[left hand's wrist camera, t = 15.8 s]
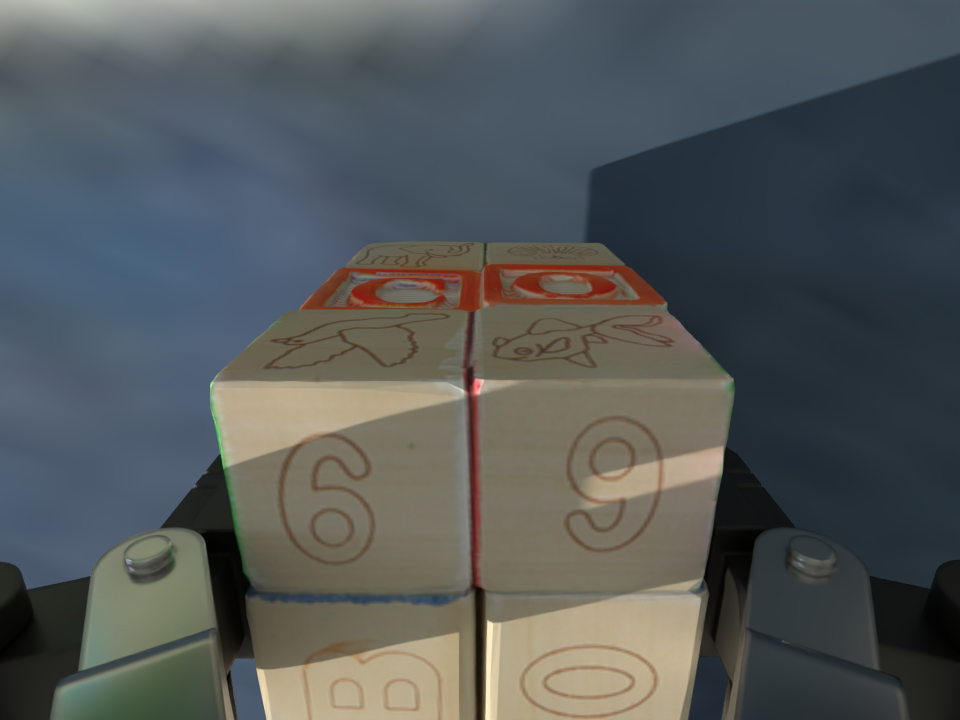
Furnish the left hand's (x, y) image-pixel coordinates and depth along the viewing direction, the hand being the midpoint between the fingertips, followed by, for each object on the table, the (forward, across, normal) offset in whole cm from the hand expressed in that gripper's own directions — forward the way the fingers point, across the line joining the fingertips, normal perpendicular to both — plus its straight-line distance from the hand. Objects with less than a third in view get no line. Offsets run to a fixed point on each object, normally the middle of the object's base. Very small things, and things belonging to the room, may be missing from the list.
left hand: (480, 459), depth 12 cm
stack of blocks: (+5, 0, -7) cm, 9 cm away
